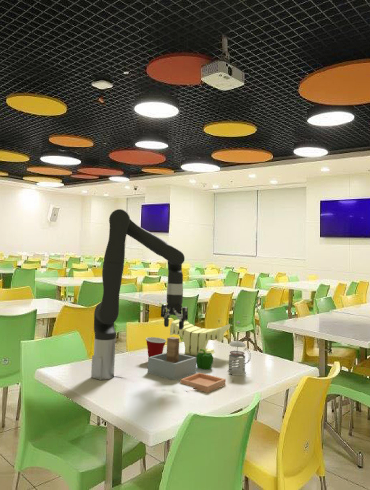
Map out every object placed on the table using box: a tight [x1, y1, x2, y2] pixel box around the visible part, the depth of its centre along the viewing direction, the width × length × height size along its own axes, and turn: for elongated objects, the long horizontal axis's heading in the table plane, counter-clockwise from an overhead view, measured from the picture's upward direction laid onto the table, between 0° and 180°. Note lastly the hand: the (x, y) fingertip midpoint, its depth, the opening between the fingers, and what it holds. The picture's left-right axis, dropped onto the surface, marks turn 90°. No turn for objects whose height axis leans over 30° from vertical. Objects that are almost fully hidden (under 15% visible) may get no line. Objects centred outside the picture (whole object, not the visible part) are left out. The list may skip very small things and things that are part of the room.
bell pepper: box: [195, 349, 214, 371], centre depth 200 cm, size 8×8×10 cm
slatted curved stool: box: [169, 318, 231, 357], centre depth 232 cm, size 30×16×18 cm, turn 65°
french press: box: [226, 320, 252, 376], centre depth 197 cm, size 10×12×25 cm
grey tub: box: [147, 352, 197, 381], centre depth 190 cm, size 16×16×8 cm
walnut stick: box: [166, 336, 180, 363], centre depth 190 cm, size 4×4×16 cm
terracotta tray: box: [180, 372, 227, 393], centre depth 176 cm, size 14×14×2 cm
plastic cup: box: [145, 336, 167, 357], centre depth 211 cm, size 11×11×12 cm
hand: (173, 328), depth 190 cm, fingers open, 8 cm apart
